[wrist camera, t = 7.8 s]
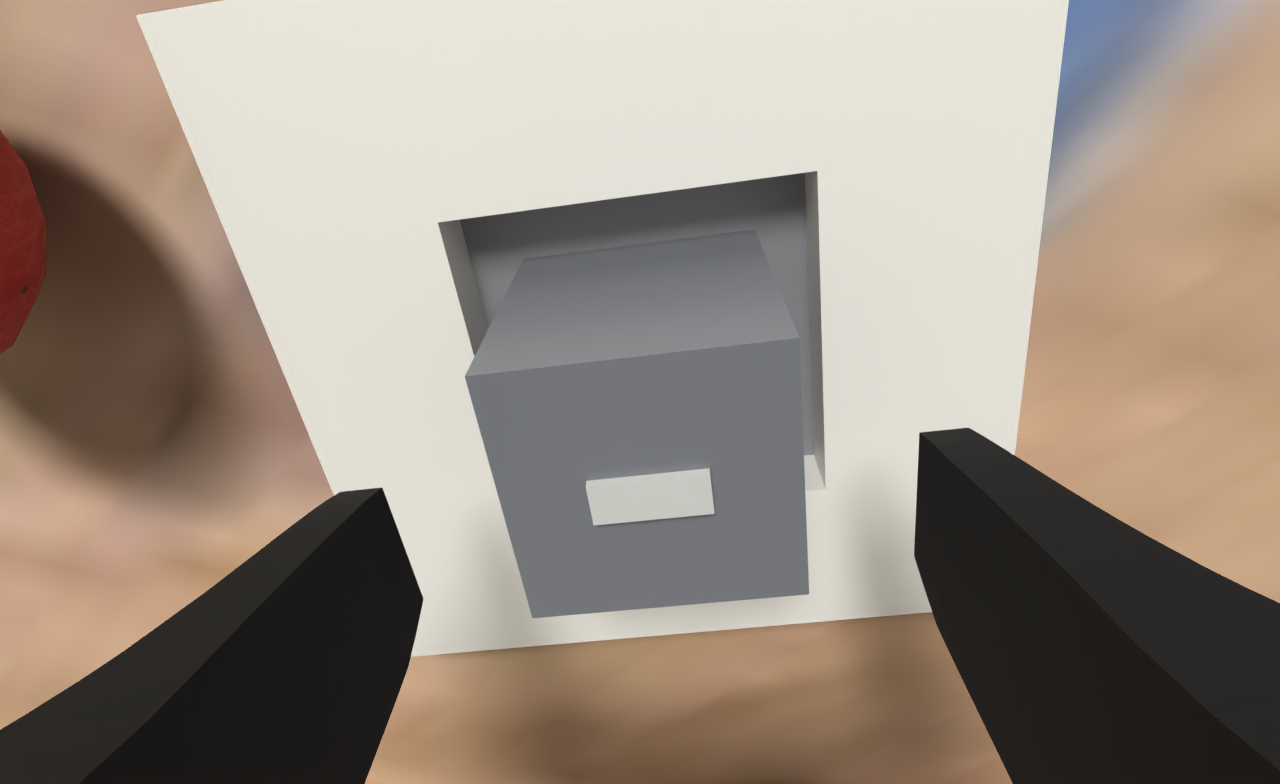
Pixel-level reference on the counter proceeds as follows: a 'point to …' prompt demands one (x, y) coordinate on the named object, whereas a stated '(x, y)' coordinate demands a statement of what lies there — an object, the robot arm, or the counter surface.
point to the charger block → (647, 427)
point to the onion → (18, 244)
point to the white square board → (628, 237)
